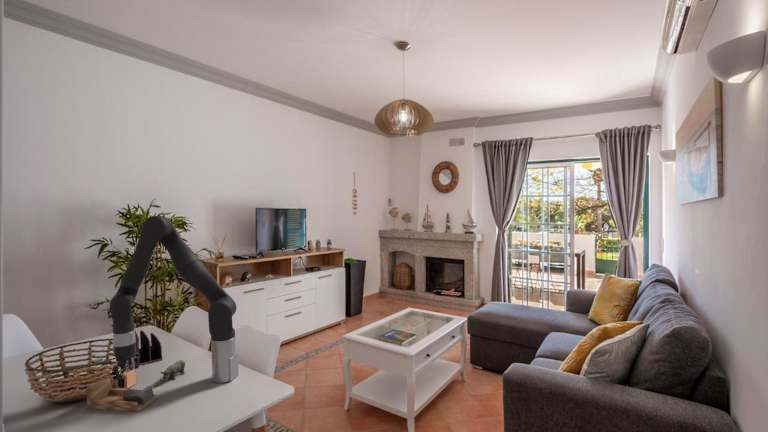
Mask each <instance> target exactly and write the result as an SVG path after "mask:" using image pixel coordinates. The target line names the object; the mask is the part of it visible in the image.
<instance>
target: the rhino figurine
mask: <svg viewBox="0 0 768 432" xmlns="http://www.w3.org/2000/svg"><path fill="white" fill-rule="evenodd" d="M185 366H186V363H185V361H184V360H183V359H179V360H177V361H176V362H175V363H173V364H170V365H169V366H168V367H166V369H165V370H164V371H160V374H163V375H162V378H160V381H161V382H162V383H166V381H168V379H170V380H172V381H175V380H176V374H177V373H180V375H185Z"/></svg>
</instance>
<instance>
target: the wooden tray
mask: <svg viewBox="0 0 768 432" xmlns="http://www.w3.org/2000/svg"><path fill="white" fill-rule="evenodd" d="M105 377H106V376H105ZM112 380H113V379H112V377H111V376H109V377H106V378H104V377H103V379H102V378H100V379H99V380H97V381H95V382H93V383H92V384H90V385H88V386H86V388H85V391H86V394H85V395H86V408H87V409H93V410H107V411H109V410H110V411H121V412H136V413H137V412H138V413H139V412H141V411H142V410H143V409H145V407H147V406H148V405H149V404H151V403H152V402H153V401H154V402H155V400H156V399H157V395H154V390H152V395H153V398H152V399H151V400H149V401H148V402H147V403H145V404H140V403H138V402H131V401H123V394H124V393H126V392H127V391H129V390H130V389H131V388H128V389H122V388H117V387H115V388H114V387H113V381H112ZM133 389H134V388H133ZM134 390H136V389H134Z"/></svg>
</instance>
